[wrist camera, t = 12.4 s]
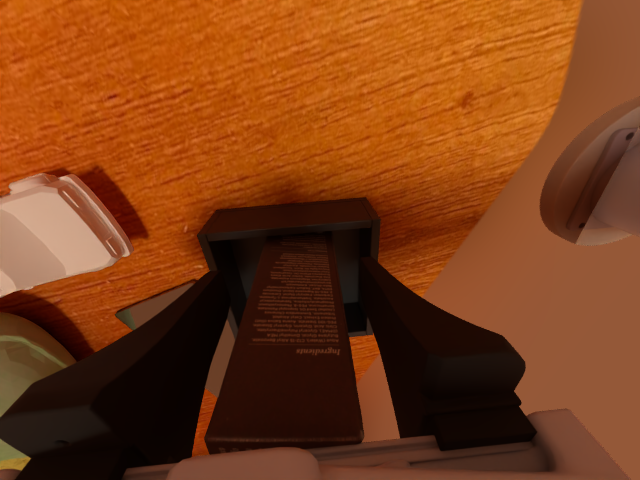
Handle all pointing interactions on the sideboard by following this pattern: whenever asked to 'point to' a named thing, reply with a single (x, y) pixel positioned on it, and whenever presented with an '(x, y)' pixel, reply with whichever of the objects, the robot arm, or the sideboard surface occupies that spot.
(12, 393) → the corn
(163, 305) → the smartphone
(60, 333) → the sideboard surface
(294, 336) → the box
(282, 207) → the bin
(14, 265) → the toy car
